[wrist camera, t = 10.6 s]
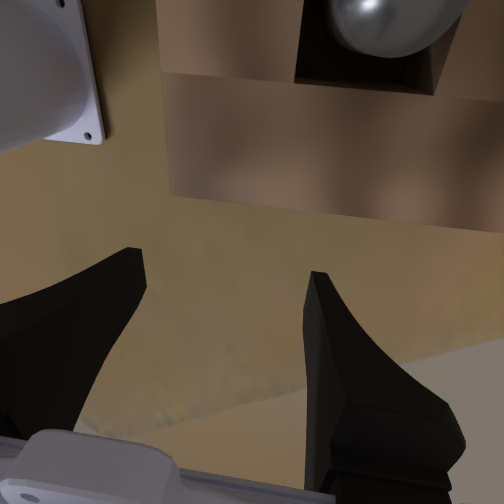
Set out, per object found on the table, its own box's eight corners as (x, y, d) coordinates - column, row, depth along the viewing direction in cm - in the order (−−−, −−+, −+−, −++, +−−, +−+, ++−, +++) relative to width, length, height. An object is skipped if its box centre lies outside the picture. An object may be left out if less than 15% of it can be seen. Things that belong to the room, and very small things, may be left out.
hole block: (194, 167, 22) (170, 195, 18) (180, -302, 12) (117, -488, 8) (465, 196, 21) (508, 234, 16) (696, -296, 11) (945, -511, 7)
